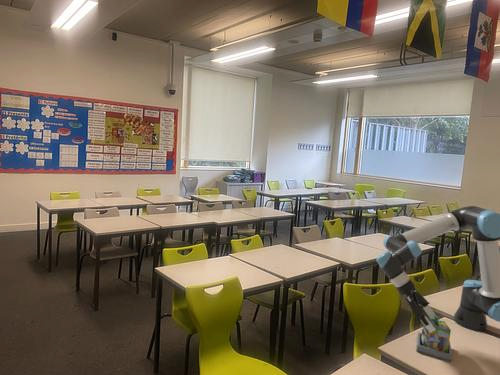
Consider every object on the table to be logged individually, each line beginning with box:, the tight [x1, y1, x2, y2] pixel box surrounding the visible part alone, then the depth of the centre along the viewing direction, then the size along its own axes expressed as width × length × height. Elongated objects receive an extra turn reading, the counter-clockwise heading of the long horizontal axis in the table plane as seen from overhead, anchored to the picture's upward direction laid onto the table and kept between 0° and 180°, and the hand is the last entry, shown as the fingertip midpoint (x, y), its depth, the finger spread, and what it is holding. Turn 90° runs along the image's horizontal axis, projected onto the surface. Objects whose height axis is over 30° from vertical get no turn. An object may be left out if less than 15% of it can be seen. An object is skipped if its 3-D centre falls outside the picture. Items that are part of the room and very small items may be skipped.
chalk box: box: [421, 313, 452, 353], centre depth 163 cm, size 9×9×15 cm
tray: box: [416, 332, 453, 363], centre depth 164 cm, size 13×13×3 cm
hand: (434, 325), depth 163 cm, fingers open, 13 cm apart
